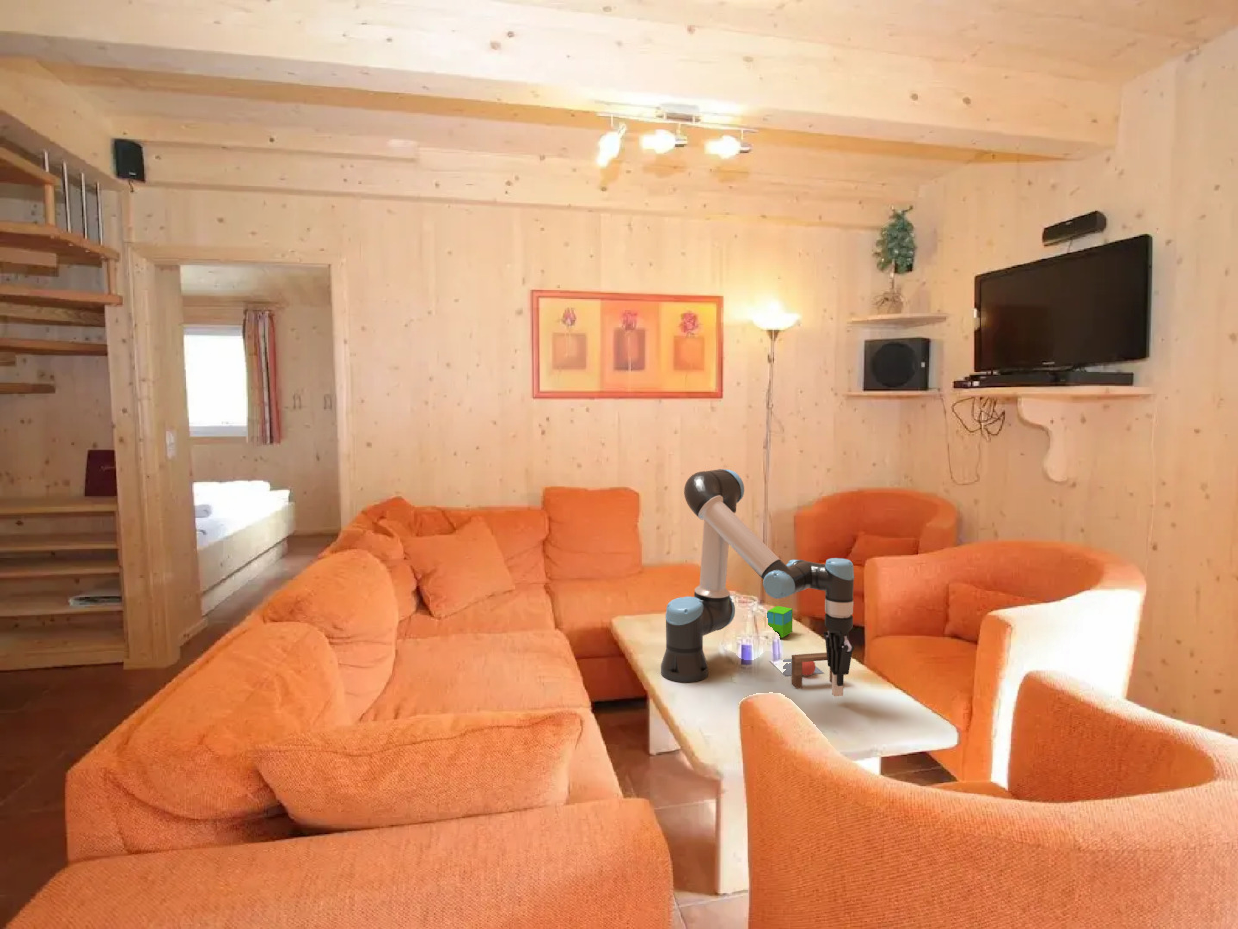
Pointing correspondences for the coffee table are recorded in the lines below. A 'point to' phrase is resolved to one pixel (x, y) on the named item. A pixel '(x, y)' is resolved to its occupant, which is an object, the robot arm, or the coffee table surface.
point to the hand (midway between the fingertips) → (837, 695)
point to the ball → (808, 668)
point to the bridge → (797, 666)
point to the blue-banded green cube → (780, 620)
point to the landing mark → (789, 668)
